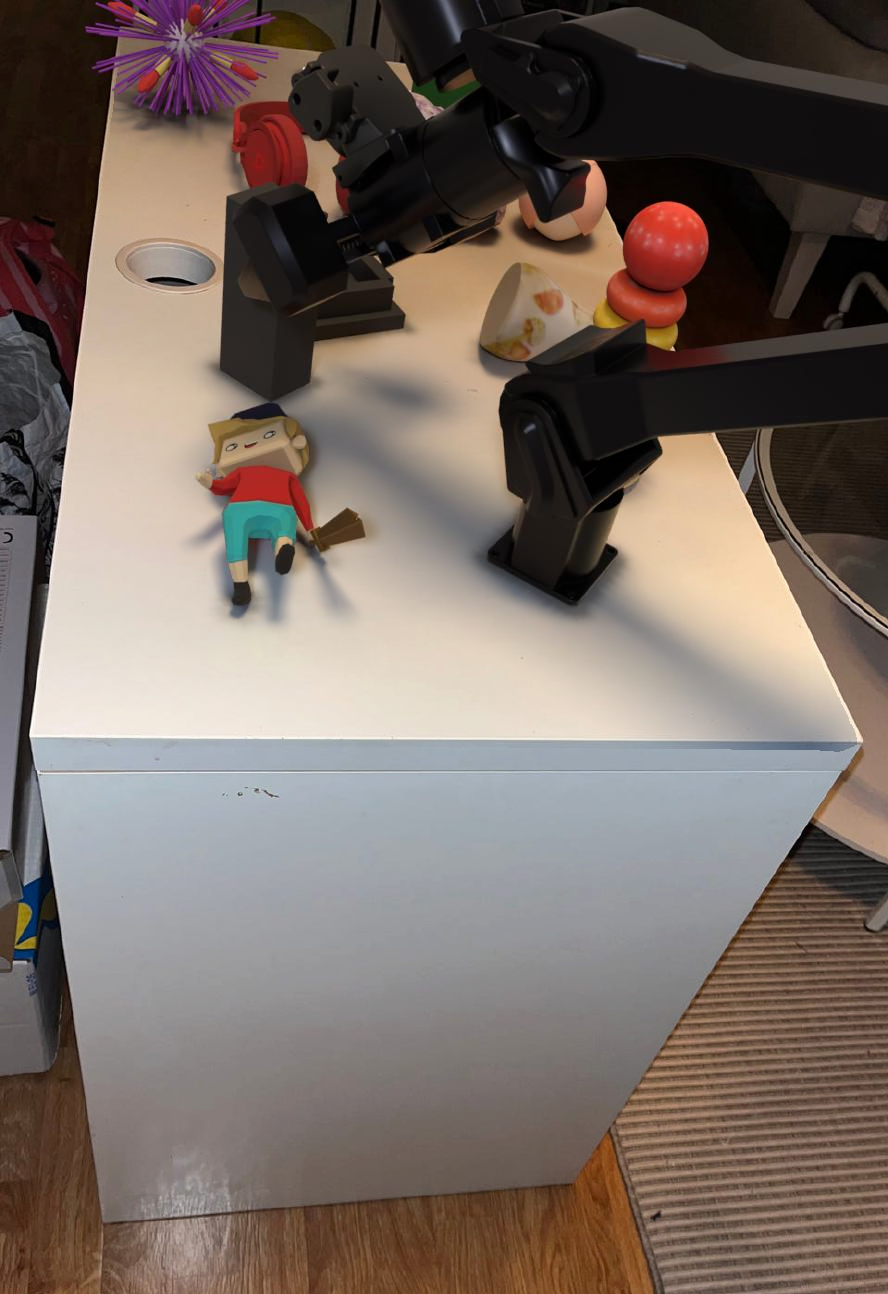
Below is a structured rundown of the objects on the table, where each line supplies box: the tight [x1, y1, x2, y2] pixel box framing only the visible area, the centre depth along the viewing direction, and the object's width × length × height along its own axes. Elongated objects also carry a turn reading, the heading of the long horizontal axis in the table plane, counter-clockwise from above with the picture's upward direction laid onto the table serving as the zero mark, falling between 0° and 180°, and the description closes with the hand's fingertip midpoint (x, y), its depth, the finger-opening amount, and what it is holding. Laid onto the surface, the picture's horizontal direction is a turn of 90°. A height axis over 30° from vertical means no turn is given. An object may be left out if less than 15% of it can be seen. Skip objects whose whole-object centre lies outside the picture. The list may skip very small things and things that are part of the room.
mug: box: [479, 261, 594, 362], centre depth 85 cm, size 8×10×10 cm
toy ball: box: [518, 160, 608, 241], centre depth 100 cm, size 8×8×8 cm
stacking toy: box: [592, 201, 710, 489], centre depth 71 cm, size 8×8×19 cm
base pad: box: [314, 244, 407, 341], centre depth 86 cm, size 10×8×3 cm
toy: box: [194, 401, 367, 606], centre depth 65 cm, size 9×6×15 cm
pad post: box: [219, 182, 329, 402], centre depth 74 cm, size 5×4×12 cm
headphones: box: [230, 100, 350, 214], centre depth 100 cm, size 15×7×20 cm
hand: (294, 267), depth 71 cm, fingers open, 9 cm apart
